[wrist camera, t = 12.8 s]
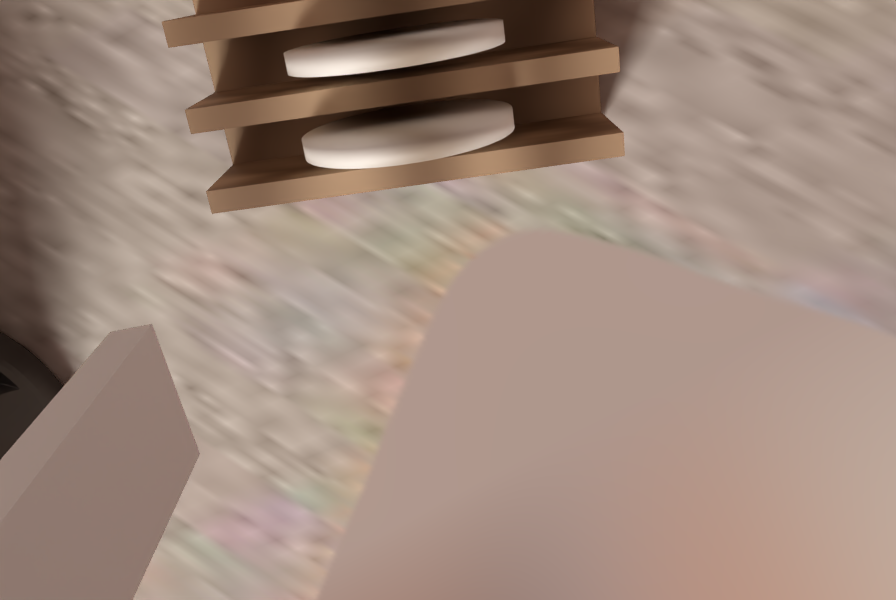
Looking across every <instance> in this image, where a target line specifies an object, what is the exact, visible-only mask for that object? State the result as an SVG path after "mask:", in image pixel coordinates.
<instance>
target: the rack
mask: <svg viewBox="0 0 896 600" xmlns="http://www.w3.org/2000/svg"><path fill="white" fill-rule="evenodd" d="M193 4H194V8H195V12H196V15H192V16H187V17H182V18H177V19H172V20H168V21H163V22H162V25H163V29H164V32H165V36H166V40H167V44H168V48H170V47H177V46H183V45H190V44H197V43H203V44H204V48H205V53H206V57H207V61H208V65H209V69H210V73H211V77H212V81H213V85H214V89H215V93H213V94H212V95H210V96H208V97H206V98H205V99H203V100H201V101H200V102H198V103H196V104H194V105H193V106H191V107H189V108H188V109H186V110H185V113H186V116H187V120H188V124H189V128H190V132H191V134H194V133H201V132H208V131H215V130H222V129H224V130H225V134H226V138H227V142H228V146H229V150H230V154H231V158H232V162H233V166H232V167H230V168H229V169H228V170H227V171H226V172H225V173H224V174H223V175H222V176H221V177H220V178H219V179H218V180H217V181H216V182H215V183H214V184H213V185H212V186H211V187H210V188H209V189H208V190H207V191H206V193H207V197H208V200H209V204H210V208H211V212H212V214H213V213H220V212H228V211H235V210H242V209H249V208H256V207H263V206H270V205H277V204H285V203H292V202H299V201H306V200H313V199H320V198H327V197H334V196H342V195H349V194H356V193H363V192H370V191H377V190H384V189H391V188H399V187H406V186H413V185H420V184H427V183H434V182H441V181H448V180H456V179H463V178H470V177H477V176H484V175H491V174H498V173H505V172H513V171H520V170H527V169H534V168H541V167H548V166H555V165H562V164H570V163H577V162H584V161H591V160H598V159H605V158H612V157H619V156H625V151H624V133H623V132H622V131H621V130H620V129H619V128H618V127H617V126H616V125H615V124H613V123H612V122H611V121H610V120H609V119H608V118H607V117H606V116H605V115H603V114H602V113H601V104H600V89H599V75H602V74H609V73H616V72H620V62H619V47H618V46H616V45H614V44H611V43H609V42H607V41H605V40H603V39H600V38H598V37H596V28H595V12H594V0H193Z"/></svg>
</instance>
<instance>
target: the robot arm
mask: <svg viewBox="0 0 896 600" xmlns="http://www.w3.org/2000/svg"><path fill="white" fill-rule="evenodd" d="M199 455H200V453H199V450H198V447H197V445H196V442H195V439H194V437H193V434H192V431H191V428H190V426H189V423H188V420H187V418H186V415H185V412H184V409H183V407H182V404H181V401H180V399H179V396H178V393H177V391H176V388H175V385H174V382H173V380H172V377H171V374H170V372H169V369H168V366H167V363H166V361H165V358H164V355H163V353H162V350H161V347H160V344H159V342H158V339H157V336H156V334H155V331H154V328H153V326H152V324H149V325H144V326H139V327H134V328H129V329H123V330H118V331H113V332H110V333H109V334H108V335H107V337H106V338H105V339H104V340H103V341H102V342H101V343H100V345H99V346H98V347H97V348H96V349H95V350H94V352H93V353H92V354H91V355H90V356H89V357H88V359H87V360H86V361H85V362H84V363H83V364H82V366H81V367H80V368H79V369H78V370H77V371H76V373H75V374H74V375H73V376H72V377H71V378H70V380H69V381H68V382H67V383H66V384H65V385H64V387H62V386H61V384H60V383H59V382H58V380H57V379H56V378H55V377H54V375H53V374H52V373H51V372H50V371H49V370H48V369H47V367H46V366H45V365H44V364H43V363H42V362H41V361H39V360H38V359H37V358H36V357H35V356H34V355H33V354H31V353H30V352H29V351H28V350H26V349H25V348H24V347H22V346H21V345H20V344H18V343H17V342H15V341H14V340H12V339H10V338H9V337H7V336H5V335H4V334H2V333H0V600H133V597H134V595H135V593H136V591H137V589H138V587H139V584H140V582H141V580H142V578H143V576H144V574H145V571H146V569H147V567H148V565H149V563H150V561H151V558H152V556H153V554H154V552H155V550H156V548H157V546H158V543H159V541H160V539H161V537H162V535H163V533H164V530H165V528H166V526H167V524H168V522H169V520H170V517H171V515H172V513H173V511H174V509H175V507H176V504H177V502H178V500H179V498H180V496H181V494H182V491H183V489H184V487H185V485H186V483H187V481H188V478H189V476H190V474H191V472H192V470H193V468H194V465H195V463H196V461H197V459H198V457H199Z"/></svg>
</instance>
